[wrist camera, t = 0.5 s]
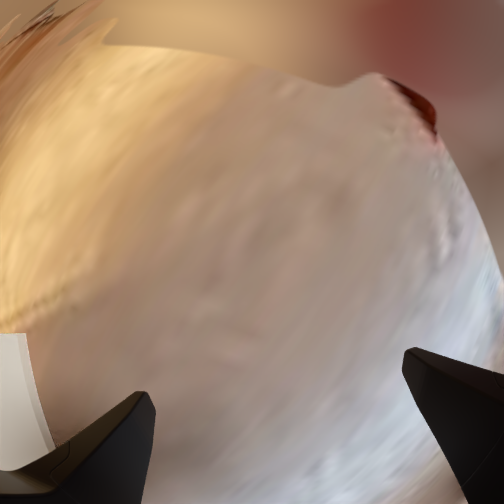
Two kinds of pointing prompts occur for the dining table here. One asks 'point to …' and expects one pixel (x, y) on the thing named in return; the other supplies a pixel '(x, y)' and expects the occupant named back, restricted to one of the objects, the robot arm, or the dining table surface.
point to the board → (20, 407)
